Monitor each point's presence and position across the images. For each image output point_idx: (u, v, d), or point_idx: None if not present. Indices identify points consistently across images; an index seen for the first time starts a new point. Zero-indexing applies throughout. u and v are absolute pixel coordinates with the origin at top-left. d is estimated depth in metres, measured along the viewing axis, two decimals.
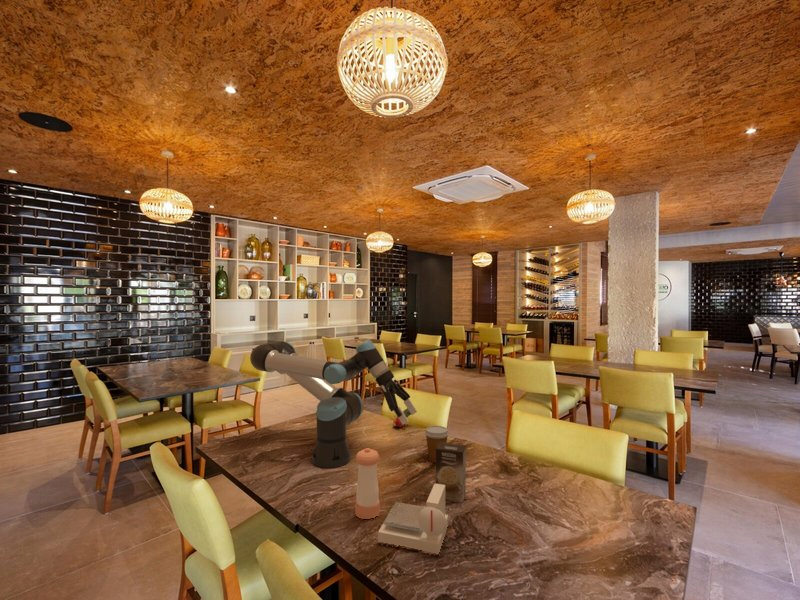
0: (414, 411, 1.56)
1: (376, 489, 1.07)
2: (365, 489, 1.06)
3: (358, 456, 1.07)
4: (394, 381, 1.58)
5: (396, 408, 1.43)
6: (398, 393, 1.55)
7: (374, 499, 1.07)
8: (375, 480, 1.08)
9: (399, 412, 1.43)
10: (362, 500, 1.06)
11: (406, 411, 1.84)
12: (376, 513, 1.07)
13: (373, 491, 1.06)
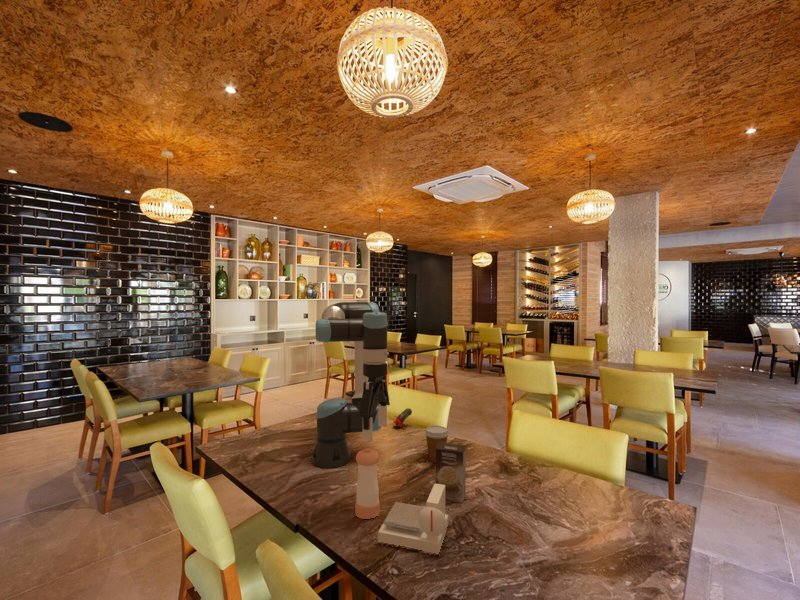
0: (383, 424, 1.17)
1: (376, 489, 1.07)
2: (365, 489, 1.06)
3: (358, 456, 1.07)
4: (383, 377, 1.17)
5: (367, 418, 1.03)
6: (379, 394, 1.15)
7: (374, 499, 1.07)
8: (375, 480, 1.08)
9: (368, 425, 1.03)
10: (362, 500, 1.06)
11: (406, 411, 1.84)
12: (376, 513, 1.07)
13: (373, 491, 1.06)
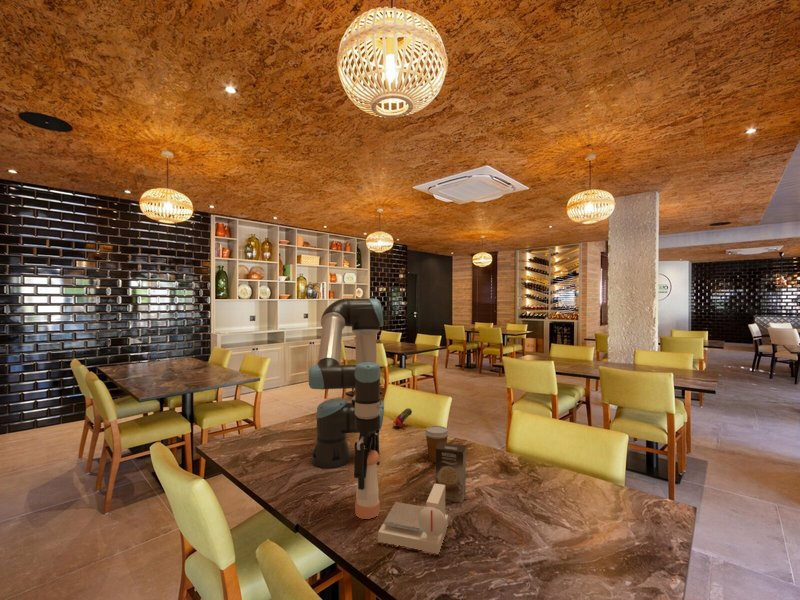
0: None
1: (376, 489, 1.07)
2: None
3: None
4: (376, 430, 1.14)
5: (362, 478, 1.04)
6: None
7: (374, 499, 1.07)
8: (375, 480, 1.08)
9: (363, 485, 1.04)
10: (362, 500, 1.06)
11: (406, 411, 1.84)
12: (376, 513, 1.07)
13: (373, 491, 1.06)
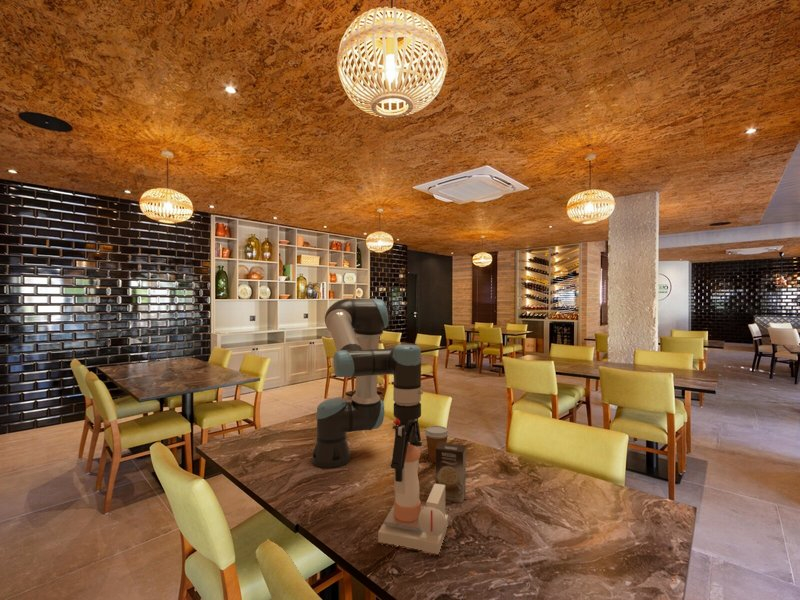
0: None
1: (417, 488, 0.98)
2: (406, 488, 0.97)
3: None
4: None
5: (400, 469, 0.91)
6: (410, 435, 1.03)
7: (416, 499, 0.97)
8: (416, 478, 0.98)
9: (401, 476, 0.92)
10: (403, 500, 0.97)
11: None
12: (418, 514, 0.97)
13: (415, 490, 0.97)
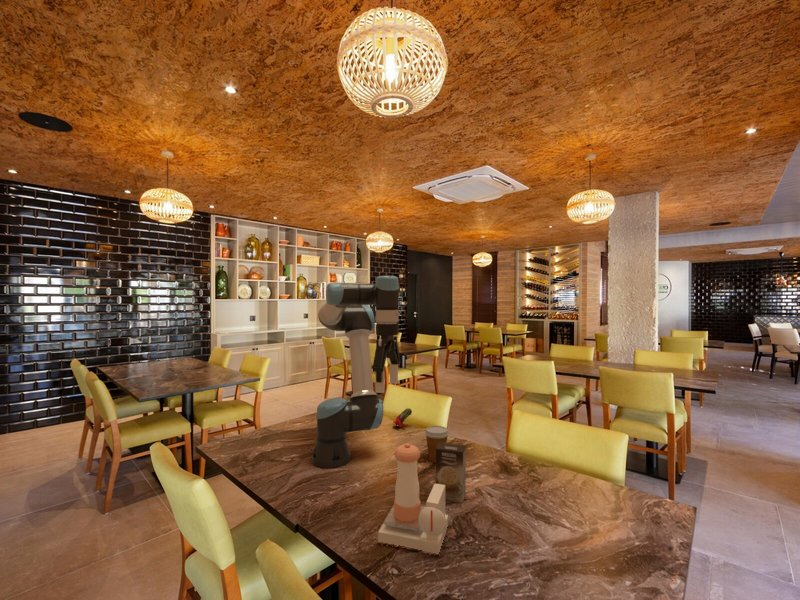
0: (395, 381, 1.26)
1: (417, 488, 0.98)
2: (406, 488, 0.97)
3: (398, 452, 0.98)
4: (394, 337, 1.25)
5: (380, 372, 1.12)
6: (390, 353, 1.24)
7: (415, 499, 0.97)
8: (416, 478, 0.98)
9: (380, 378, 1.12)
10: (403, 500, 0.97)
11: (406, 411, 1.84)
12: (418, 514, 0.97)
13: (415, 490, 0.97)
